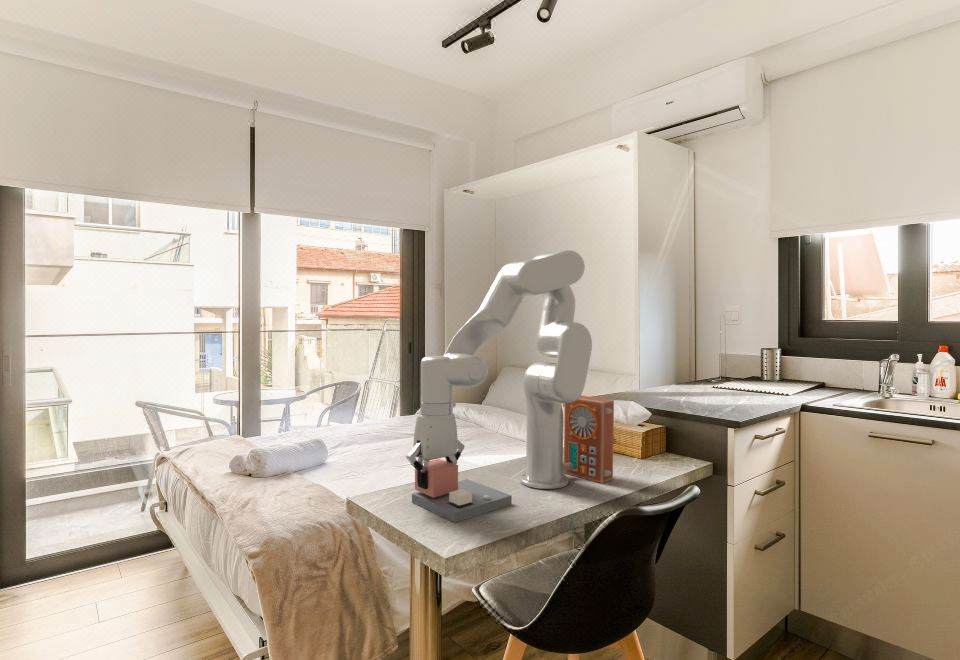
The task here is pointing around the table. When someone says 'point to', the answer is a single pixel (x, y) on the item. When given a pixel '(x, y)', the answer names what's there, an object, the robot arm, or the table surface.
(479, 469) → the table surface
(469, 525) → the table surface
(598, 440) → the control panel
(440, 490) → the cap
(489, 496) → the board
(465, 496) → the block
